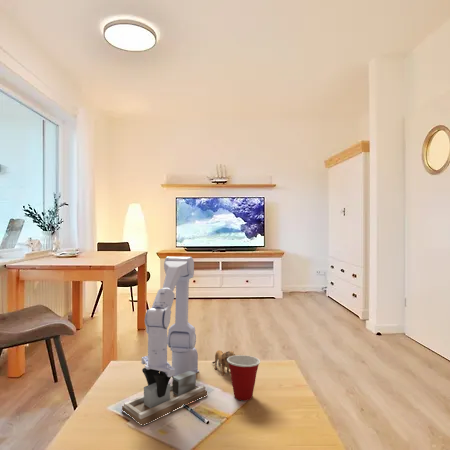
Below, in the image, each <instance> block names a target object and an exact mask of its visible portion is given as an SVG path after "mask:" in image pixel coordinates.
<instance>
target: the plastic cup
mask: <svg viewBox="0 0 450 450" xmlns="http://www.w3.org/2000/svg"><path fill="white" fill-rule="evenodd" d="M235 355H236V356H231V357H228V358H227V361H228V363H229V371H230V379H231V385H232V391H233V392H232V393H233V396H234V399H235V400H237V399H238V401H241V400H243V401H244V402H245V401H250V400H252V398H253V395H254V390H255V385H256V380H257V373H258V368H259V366H260V363H261V360H260V358H258V357H256V356H252V355H243V354H242V355H241V354H240V355H239V354H238V355H237V354H235ZM243 401H242V402H243Z"/></svg>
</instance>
